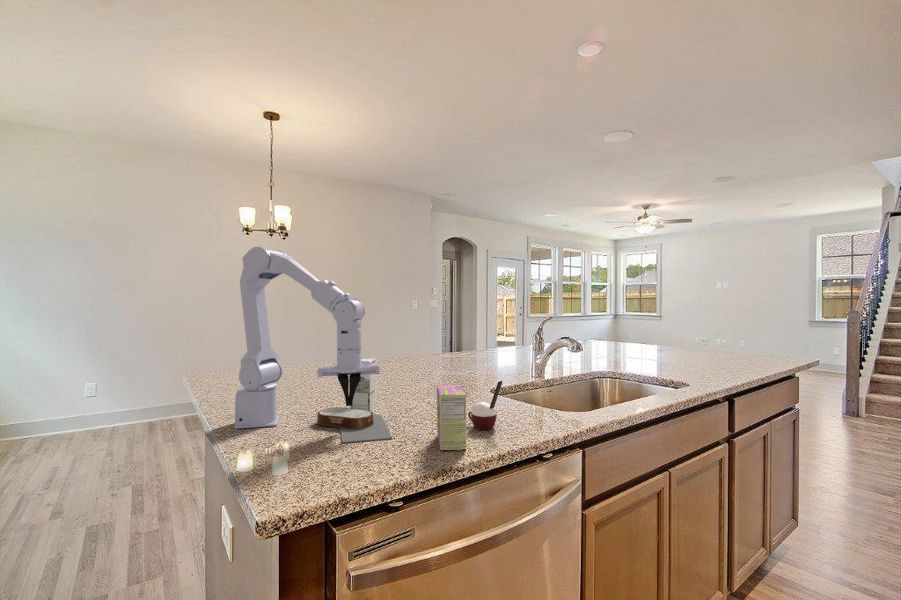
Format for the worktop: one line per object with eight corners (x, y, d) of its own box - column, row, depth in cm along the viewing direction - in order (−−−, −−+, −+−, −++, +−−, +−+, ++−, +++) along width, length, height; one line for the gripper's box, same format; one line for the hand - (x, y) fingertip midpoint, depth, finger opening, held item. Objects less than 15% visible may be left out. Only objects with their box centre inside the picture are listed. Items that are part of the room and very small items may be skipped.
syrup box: (375, 406, 126) (375, 357, 126) (369, 412, 120) (370, 360, 120) (356, 406, 127) (356, 356, 126) (349, 411, 121) (350, 359, 121)
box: (436, 435, 100) (436, 384, 100) (461, 435, 101) (461, 384, 101) (439, 451, 90) (439, 395, 90) (466, 451, 90) (466, 394, 90)
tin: (362, 430, 103) (379, 423, 111) (363, 416, 103) (380, 410, 111) (309, 424, 107) (329, 417, 115) (310, 411, 108) (329, 405, 116)
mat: (342, 443, 95) (342, 442, 95) (338, 418, 114) (338, 417, 114) (392, 438, 98) (392, 437, 98) (380, 415, 117) (380, 414, 117)
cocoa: (464, 426, 109) (462, 379, 109) (485, 422, 112) (483, 376, 112) (485, 435, 100) (483, 384, 100) (507, 430, 103) (505, 380, 103)
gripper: (317, 351, 99) (317, 411, 99) (381, 349, 103) (381, 406, 103) (317, 348, 105) (317, 403, 105) (377, 346, 110) (377, 400, 110)
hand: (348, 404), depth 105 cm, fingers closed
